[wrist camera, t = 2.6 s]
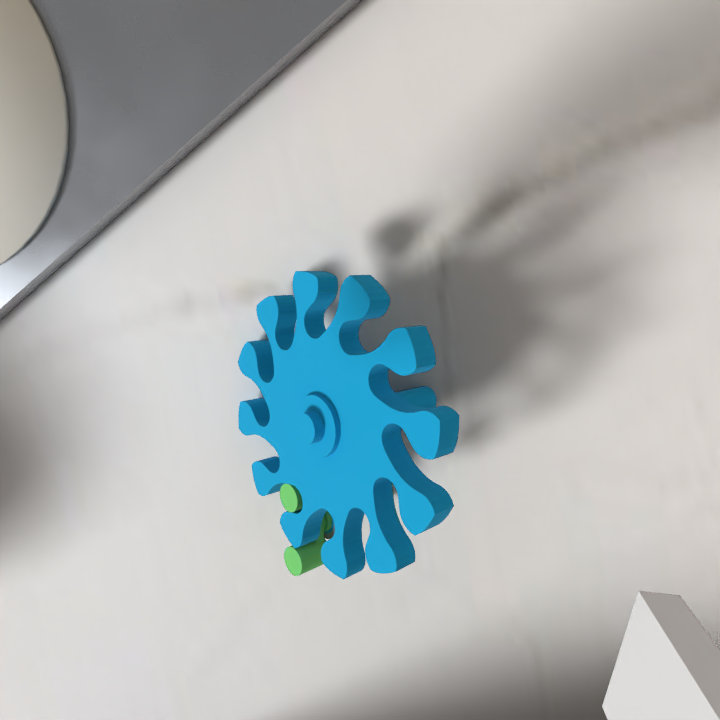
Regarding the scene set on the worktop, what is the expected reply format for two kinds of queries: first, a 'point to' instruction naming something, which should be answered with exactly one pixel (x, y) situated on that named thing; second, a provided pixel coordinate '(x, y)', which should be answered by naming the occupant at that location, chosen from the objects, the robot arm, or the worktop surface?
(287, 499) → the gear
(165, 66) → the carrier plate
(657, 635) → the robot arm
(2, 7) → the disc
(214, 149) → the worktop surface
